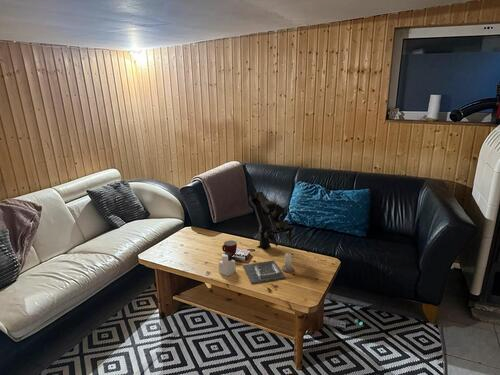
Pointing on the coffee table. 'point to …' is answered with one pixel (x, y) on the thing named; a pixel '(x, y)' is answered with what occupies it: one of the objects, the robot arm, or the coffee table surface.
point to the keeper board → (263, 272)
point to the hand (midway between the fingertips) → (283, 244)
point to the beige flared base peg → (288, 263)
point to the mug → (230, 247)
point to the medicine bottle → (227, 264)
